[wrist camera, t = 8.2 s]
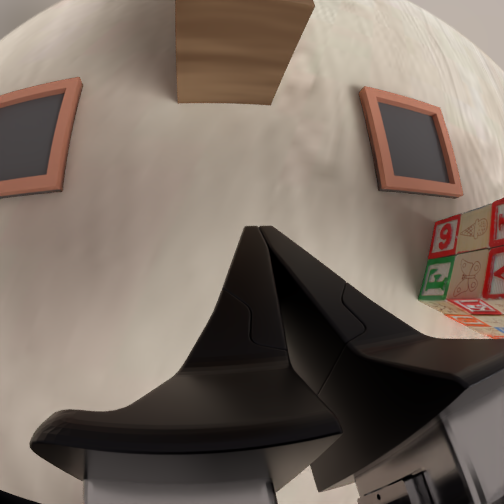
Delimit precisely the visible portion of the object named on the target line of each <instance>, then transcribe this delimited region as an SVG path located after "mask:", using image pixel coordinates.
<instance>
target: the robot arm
mask: <svg viewBox="0 0 504 504" xmlns="http://www.w3.org/2000/svg"><path fill="white" fill-rule="evenodd" d="M30 448H31V449H32V451H33V452H34V453H36V454H37V455H38V456H40V457H41V458H43V459H44V460H46V461H48V462H49V463H51V464H53V465H54V466H56V467H58V468H59V469H61V470H63V471H65V472H66V473H68V474H70V475H72V476H74V477H76V478H77V479H79V480H81V481H83V504H278V502H277V498H276V492H277V491H279V490H280V489H281V488H282V487H284V486H285V485H286V484H287V483H289V482H290V481H291V480H292V479H293V478H295V477H296V476H297V475H298V474H299V473H301V472H302V471H303V470H304V469H305V468H306V467H308V466H309V465H310V466H311V470H312V473H313V476H314V480H315V483H316V487H317V490H318V492H323V491H327V490H331V489H334V488H338V487H341V486H345V485H348V484H351V483H356V486H357V490H358V493H359V496H360V498H358V500H357V502H358V504H504V339H441V338H434V337H430V336H427V335H424V334H422V333H420V332H419V331H417V330H415V329H414V328H412V327H411V326H409V325H408V324H406V323H405V322H403V321H402V320H400V319H399V318H397V317H396V316H394V315H393V314H391V313H389V312H388V311H386V310H385V309H383V308H382V307H380V306H379V305H377V304H376V303H375V302H373V301H372V300H370V299H369V298H367V297H366V296H365V295H363V294H362V293H361V292H359V291H358V290H357V289H355V288H354V287H353V286H351V285H350V284H349V283H346V281H345V280H343V279H342V278H341V277H340V276H338V275H337V274H336V273H334V272H333V271H332V270H330V269H329V268H328V267H326V266H325V265H324V264H323V263H321V262H320V261H319V260H317V259H316V258H315V257H313V256H312V255H311V254H309V253H308V252H307V251H305V250H304V249H303V248H301V247H300V246H299V245H297V244H296V243H295V242H293V241H292V240H291V239H289V238H288V237H286V236H285V235H284V234H282V233H281V232H280V231H278V230H277V229H276V228H274V227H273V226H259V227H258V226H245V227H244V229H243V232H242V234H241V237H240V240H239V243H238V246H237V248H236V251H235V254H234V257H233V260H232V262H231V265H230V268H229V271H228V274H227V277H226V279H225V282H224V285H223V288H222V291H221V293H220V296H219V299H218V301H217V304H216V306H215V308H214V311H213V313H212V315H211V317H210V319H209V321H208V323H207V325H206V326H205V328H204V330H203V332H202V333H201V335H200V337H199V339H198V340H197V342H196V344H195V345H194V347H193V349H192V351H191V352H190V354H189V356H188V358H187V359H186V361H185V362H184V364H183V365H182V367H181V368H180V370H179V371H178V372H177V373H176V374H175V375H174V376H173V377H172V378H170V379H169V380H167V381H166V382H164V383H163V384H161V385H160V386H158V387H157V388H155V389H154V390H152V391H151V392H149V393H148V394H146V395H145V396H143V397H142V398H140V399H139V400H137V401H135V402H134V403H132V404H131V405H129V406H127V407H124V408H121V409H118V410H113V411H86V410H72V409H69V410H61V411H58V412H55V413H54V414H52V415H51V416H50V417H49V418H48V419H47V420H45V421H44V422H43V423H42V424H41V425H40V426H39V427H38V428H37V430H36V431H35V433H34V434H33V437H32V438H31V441H30ZM0 504H40V503H37V502H34V501H30V500H27V499H24V498H21V497H18V496H15V495H12V494H10V493H7V492H4V491H2V490H0Z"/></svg>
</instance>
